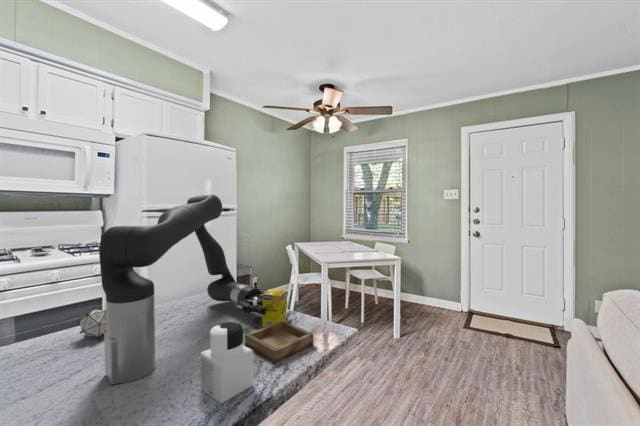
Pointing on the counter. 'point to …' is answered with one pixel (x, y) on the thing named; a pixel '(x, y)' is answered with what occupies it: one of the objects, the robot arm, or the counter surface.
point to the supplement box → (274, 307)
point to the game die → (94, 323)
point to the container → (226, 363)
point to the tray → (278, 341)
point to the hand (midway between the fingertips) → (275, 308)
